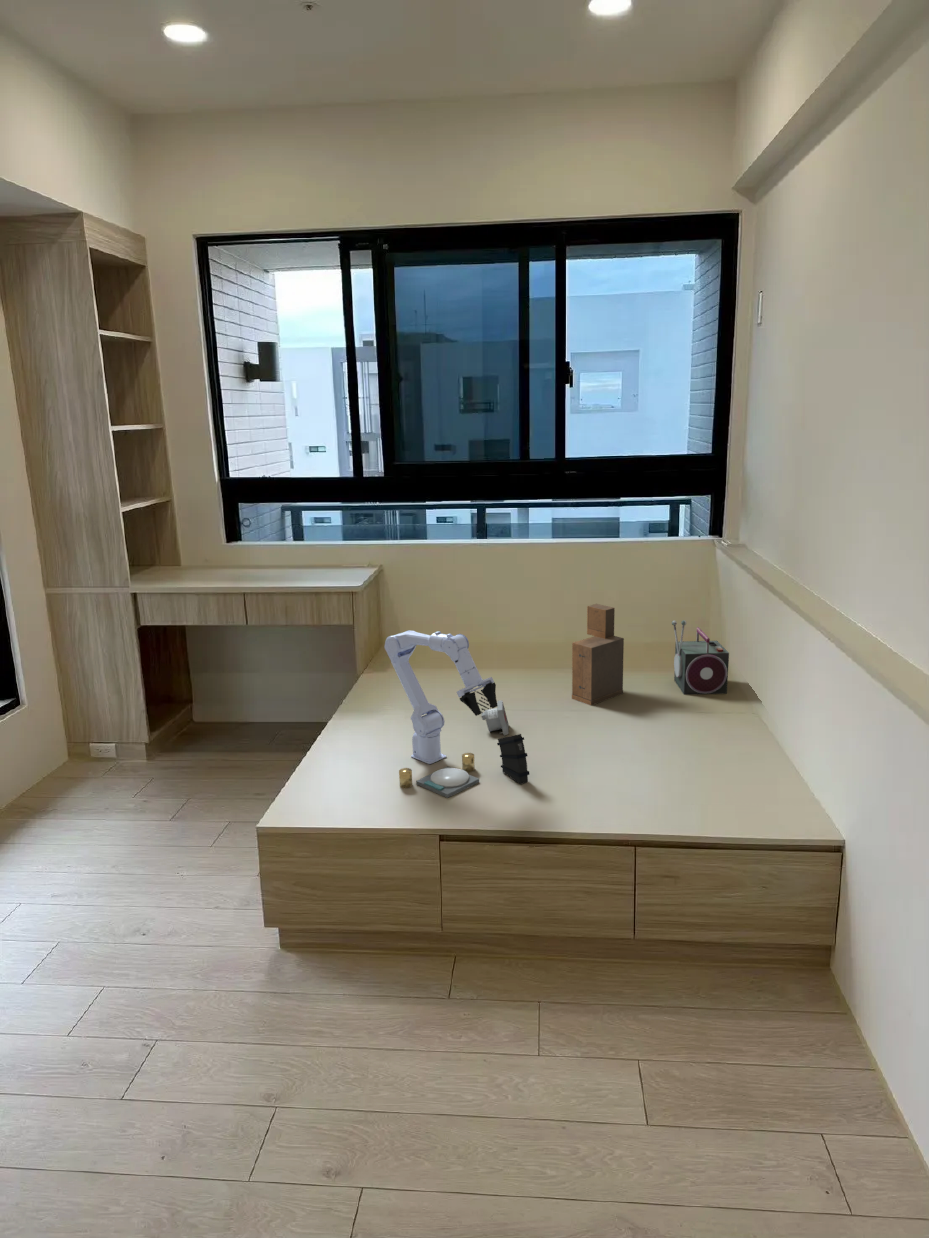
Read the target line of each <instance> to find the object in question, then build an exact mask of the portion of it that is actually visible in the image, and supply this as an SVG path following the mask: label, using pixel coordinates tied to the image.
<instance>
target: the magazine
mask: <svg viewBox="0 0 929 1238" xmlns="http://www.w3.org/2000/svg"><path fill="white" fill-rule="evenodd" d="M524 740H525V737H524V736H522V733H518V734H515V735H514V734H513V735H510V736H504V737H501V738H497V741H498V742H497V746H499V750H500V755H499V757H500V758H501V763H502V764H501V765H500V768H502V773H504V774H505V775H507V776H508V777H509V778H511V779H512V780H514V781H515V782H517V783H518V784H519V785H523V784H524V783H525V784H526V783H528V781H529V777H528V776H529V775H530V771H529V770H528V761H527V757H529V756H528V753H527V752H526V749H525V745H524Z"/></svg>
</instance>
